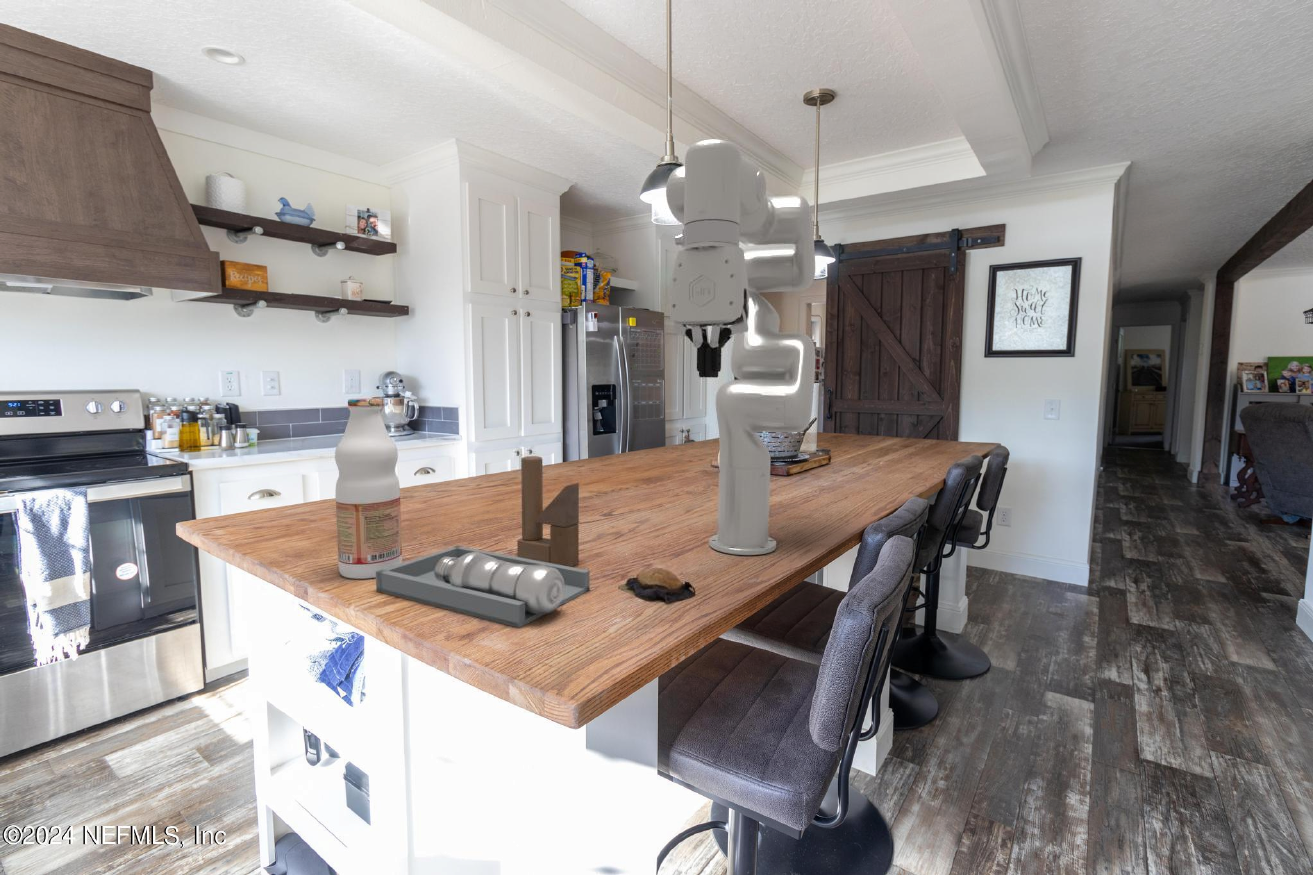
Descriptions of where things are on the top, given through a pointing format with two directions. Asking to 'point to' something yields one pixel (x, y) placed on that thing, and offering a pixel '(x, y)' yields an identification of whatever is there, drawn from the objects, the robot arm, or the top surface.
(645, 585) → the bread roll
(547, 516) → the toy block structure
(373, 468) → the fruit juice
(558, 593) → the plastic bottle
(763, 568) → the top surface
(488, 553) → the tray
